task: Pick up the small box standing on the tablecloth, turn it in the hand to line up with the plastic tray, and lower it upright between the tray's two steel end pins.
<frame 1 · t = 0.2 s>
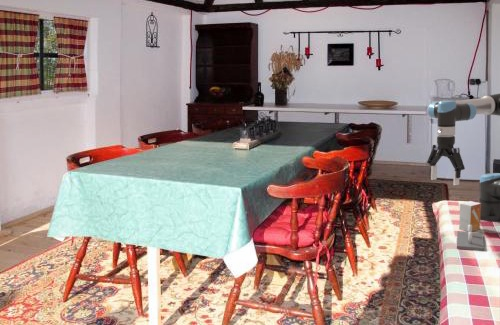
hand: (444, 182, 249), 27 cm above the table, tool pointing down, fingers open, 13 cm apart
small box: (469, 229, 269), on the table
pin tray: (469, 241, 250), on the table
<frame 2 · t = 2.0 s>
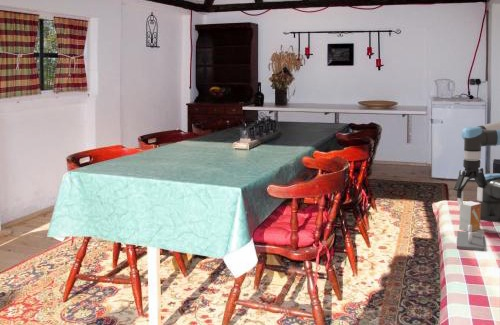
hand: (469, 202, 266), 13 cm above the table, tool pointing down, fingers open, 13 cm apart
nothing on the table moved.
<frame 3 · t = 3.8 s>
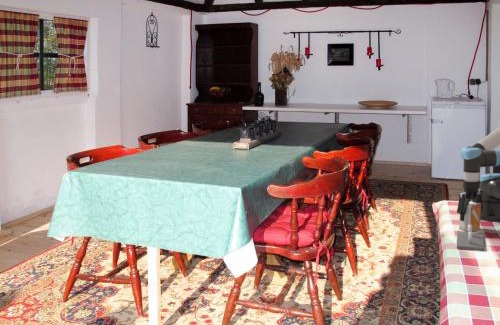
hand: (469, 225, 268), 2 cm above the table, tool pointing down, fingers closed on small box, 8 cm apart
small box: (469, 229, 269), on the table, touching gripper
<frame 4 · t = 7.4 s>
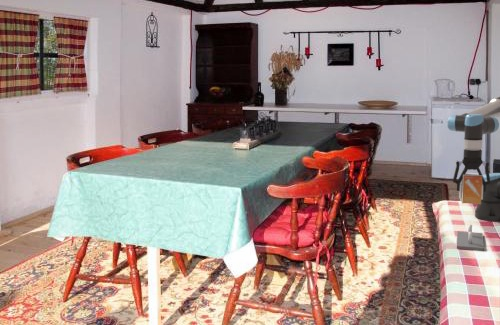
hand: (470, 198, 249), 20 cm above the table, tool pointing down, fingers closed on small box, 8 cm apart
small box: (470, 202, 249), point 18 cm above the table, touching gripper
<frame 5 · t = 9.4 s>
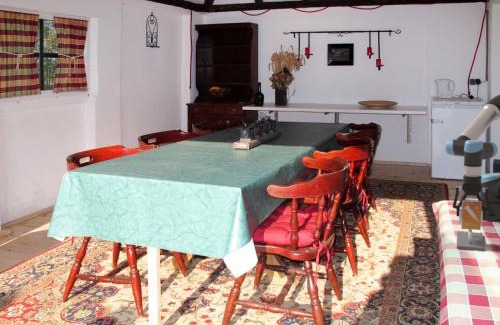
hand: (470, 223, 249), 8 cm above the table, tool pointing down, fingers closed on small box, 8 cm apart
small box: (470, 228, 249), point 6 cm above the table, touching gripper
when the fingers open (4 cm above the table, at t = 11.0 s): small box drops 1 cm, resting on pin tray.
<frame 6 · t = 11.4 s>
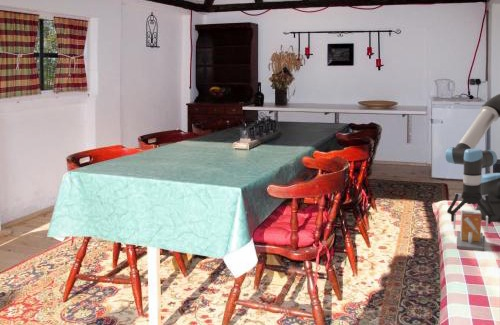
hand: (470, 229, 249), 6 cm above the table, tool pointing down, fingers open, 13 cm apart
small box: (470, 239, 250), point 1 cm above the table, touching pin tray
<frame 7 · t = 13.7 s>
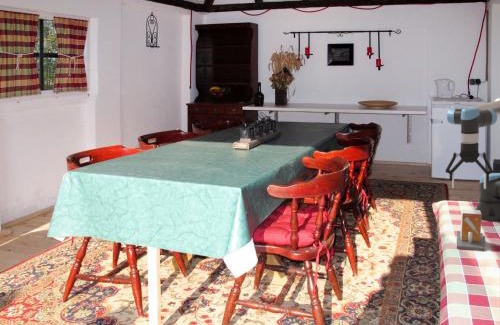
hand: (468, 187, 252), 24 cm above the table, tool pointing down, fingers open, 13 cm apart
nothing on the table moved.
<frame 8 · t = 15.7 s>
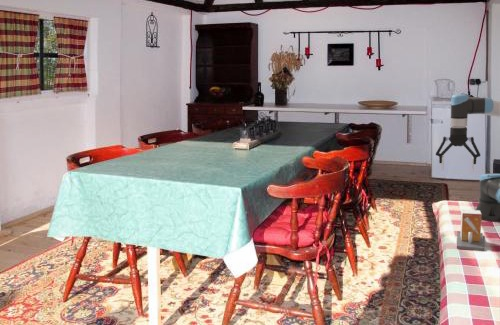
hand: (457, 170, 267), 29 cm above the table, tool pointing down, fingers open, 13 cm apart
nothing on the table moved.
at the end: small box 0.1 cm off-centre on the pin tray, point 1.0 cm above the pin tray's base; small box tilted 0°; the gripper is holding nothing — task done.
